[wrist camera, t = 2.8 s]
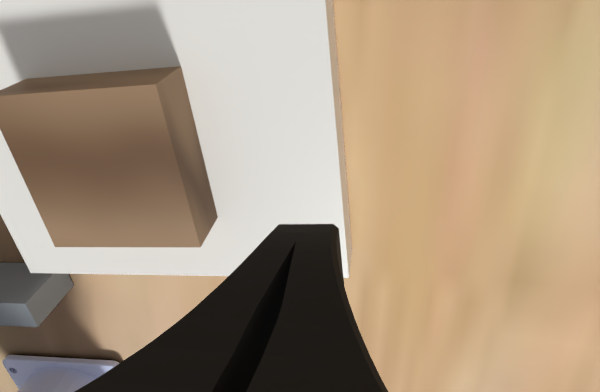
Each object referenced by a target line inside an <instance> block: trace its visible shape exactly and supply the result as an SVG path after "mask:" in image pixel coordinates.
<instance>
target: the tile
mask: <svg viewBox="0 0 600 392" xmlns="http://www.w3.org/2000/svg"><path fill="white" fill-rule="evenodd" d="M0 130H1V132H2V134H3V136H4V138H5V141H6V143H7V145H8V147H9V149H10V151H11V153H12V156H13V158H14V160H15V162H16V164H17V166H18V169H19V171H20V173H21V175H22V177H23V179H24V181H25V184H26V186H27V188H28V190H29V192H30V194H31V196H32V199H33V201H34V203H35V205H36V207H37V209H38V211H39V214H40V216H41V218H42V220H43V222H44V224H45V227H46V229H47V231H48V233H49V235H50V237H51V239H52V242H53V244H54V246H55V247H201V246H202V244H203V242H204V241H205V239H206V237H207V235H208V234H209V232H210V230H211V228H212V227H213V225H214V223H215V221H216V220H217V218H218V216H217V212H216V208H215V203H214V199H213V195H212V191H211V187H210V183H209V179H208V175H207V171H206V166H205V162H204V158H203V154H202V150H201V146H200V142H199V138H198V134H197V129H196V125H195V121H194V117H193V113H192V109H191V105H190V101H189V97H188V92H187V88H186V84H185V80H184V76H183V72H182V68H181V66H178V67H165V68H153V69H141V70H128V71H116V72H104V73H92V74H79V75H67V76H55V77H43V78H30V79H25V80H22V81H20V82H18V83H16V84H13V85H11V86H9V87H6V88H4V89H2V90H0Z"/></svg>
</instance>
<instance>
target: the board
mask: <svg viewBox="0 0 600 392" xmlns="http://www.w3.org/2000/svg"><path fill="white" fill-rule="evenodd" d="M178 66H181V68H182V72H183V76H184V80H185V84H186V88H187V92H188V97H189V101H190V105H191V109H192V113H193V117H194V121H195V125H196V129H197V134H198V138H199V142H200V146H201V150H202V154H203V158H204V162H205V166H206V171H207V175H208V179H209V183H210V187H211V191H212V195H213V199H214V203H215V208H216V212H217V216H218V218H217V220H216V221H215V223H214V225H213V227H212V228H211V230H210V232H209V234H208V235H207V237H206V239H205V241H204V242H203V244H202V246H201V247H55V246H54V244H53V242H52V239H51V237H50V235H49V233H48V231H47V229H46V227H45V224H44V222H43V220H42V218H41V216H40V214H39V211H38V209H37V207H36V205H35V203H34V201H33V199H32V196H31V194H30V192H29V190H28V188H27V186H26V184H25V181H24V179H23V177H22V175H21V173H20V171H19V169H18V166H17V164H16V162H15V160H14V158H13V156H12V153H11V151H10V149H9V147H8V145H7V143H6V141H5V138H4V136H3V134H2V132H1V130H0V214H1V216H2V218H3V220H4V222H5V224H6V226H7V228H8V230H9V232H10V234H11V236H12V238H13V240H14V242H15V244H16V246H17V248H18V249H19V251H20V253H21V255H22V257H23V259H24V261H25V263H26V265H27V267H28V269H29V271H30V273H60V274H126V275H192V276H229V275H230V274H231V273H232V272H233V271H234V270H235V269H236V268H237V267H238V266H239V265H240V264H241V263H242V262H243V261H244V260H245V259H246V258H247V257H248V256H249V255H250V254H251V253H252V252H253V251H254V250H255V249H256V248H257V246H258V245H259V244H260V243H261V242H262V241H263V240H264V239H265V238H266V237H267V236H268V235H269V234H270V233H271V232H272V231H273V230H274V229H275V228H276V227H277V226H278V225H279V224H334V225H335V226H336V227H338V228H339V236H340V247H341V258H342V269H343V278H349V272H350V263H351V254H352V240H351V227H350V214H349V201H348V188H347V175H346V162H345V149H344V136H343V124H342V111H341V98H340V85H339V72H338V59H337V46H336V33H335V21H334V8H333V0H0V90H2V89H4V88H6V87H9V86H11V85H13V84H16V83H18V82H20V81H22V80H25V79H30V78H43V77H55V76H67V75H79V74H92V73H104V72H116V71H128V70H141V69H153V68H165V67H178Z"/></svg>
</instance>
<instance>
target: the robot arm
mask: <svg viewBox="0 0 600 392" xmlns="http://www.w3.org/2000/svg"><path fill="white" fill-rule="evenodd" d="M3 365H4V366H5V368H6V369H7V371H8V373H9V374H10V376H11V377H12V379H13V381H14V382H15V384H16V385H17V387H18V389H19V390H18V392H388V391H387V389H386V387H385V385H384V383H383V382H382V380H381V378H380V376H379V373H378V371H377V369H376V367H375V365H374V363H373V361H372V359H371V357H370V355H369V352H368V350H367V348H366V346H365V343H364V341H363V339H362V336H361V334H360V332H359V329H358V326H357V324H356V321H355V319H354V316H353V313H352V310H351V307H350V304H349V301H348V298H347V295H346V292H345V288H344V279H343V269H342V258H341V247H340V236H339V228H338V227H336V226H335V225H334V224H279V225H278V226H277V227H276V228H275V229H274V230H273V231H272V232H271V233H270V234H269V235H268V236H267V237H266V238H265V239H264V240H263V241H262V242H261V243H260V244H259V245H258V246H257V248H256V249H255V250H254V251H253V252H252V253H251V254H250V255H249V256H248V257H247V258H246V259H245V260H244V261H243V262H242V263H241V264H240V265H239V266H238V267H237V268H236V269H235V270H234V271H233V272H232V273H231V274H230V275H229V276H228V277H227V278H226V279H225V280H224V281H223V282H222V283H221V284H220V285H219V286H218V287H217V288H216V289H215V290H214V291H213V292H211V293H210V294H209V295H208V296H207V297H206V298H205V299H204V300H203V301H202V302H201V303H199V304H198V305H197V306H196V307H195V308H194V309H193V310H192V311H190V312H189V313H188V314H187V315H186V316H184V317H183V318H182V319H181V320H179V321H178V322H177V323H176V324H174V325H173V326H172V327H171V328H169V329H168V330H167V331H165V332H164V333H163V334H161V335H160V336H159V337H157V338H156V339H155V340H153V341H152V342H151V343H149V344H148V345H146V346H145V347H144V348H142V349H141V350H139V351H138V352H136V353H135V354H133V355H132V356H130V357H129V358H127V359H126V360H124V361H122V362H121V363H119V362H117V361H113V360H95V359H77V358H59V357H42V356H24V355H7V356H6V357H5V358H4V359H3Z"/></svg>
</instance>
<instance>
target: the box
mask: <svg viewBox="0 0 600 392" xmlns="http://www.w3.org/2000/svg"><path fill="white" fill-rule="evenodd" d="M73 286H74V285H73V283H72V280H71V278H70V276H69V274H60V273H30V271H29V269H28V267H27V265H26V263H0V326H21V327H39V325H40V324H41V323H42V322H43V321H44V320H45V318H46V317H47V316H48V315H49V314H50V313H51V311H52V310H53V309H54V308H55V307H56V306H57V305H58V303H59V302H60V301H61V300H62V299H63V298H64V296H65V295H66V294H67V293H68V292H69V291H70V289H71V288H72V287H73Z"/></svg>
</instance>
